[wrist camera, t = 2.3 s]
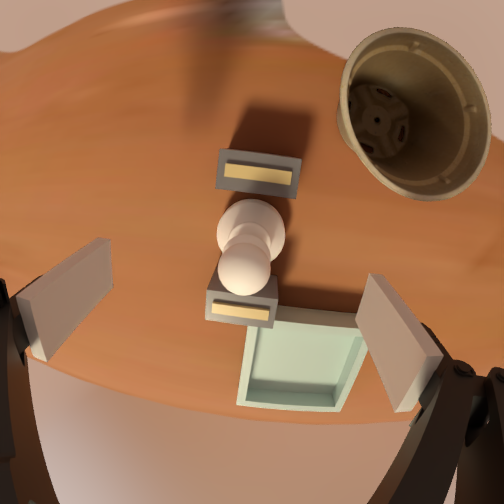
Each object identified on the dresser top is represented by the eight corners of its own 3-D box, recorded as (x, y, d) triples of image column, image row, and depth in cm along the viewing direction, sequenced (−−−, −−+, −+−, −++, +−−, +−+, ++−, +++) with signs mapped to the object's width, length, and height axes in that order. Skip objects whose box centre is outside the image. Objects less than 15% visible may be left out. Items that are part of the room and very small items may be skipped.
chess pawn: (273, 189, 22) (277, 217, 14) (291, 250, 24) (303, 309, 15) (210, 208, 23) (177, 247, 14) (231, 267, 24) (212, 331, 16)
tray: (367, 314, 25) (375, 329, 23) (336, 395, 29) (339, 411, 27) (251, 301, 25) (249, 317, 23) (238, 387, 29) (236, 404, 27)
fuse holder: (295, 157, 21) (302, 159, 17) (272, 302, 25) (272, 331, 21) (228, 148, 21) (219, 148, 17) (213, 294, 25) (204, 321, 21)
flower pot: (319, 183, 22) (348, 205, 14) (306, 62, 19) (328, 18, 10) (427, 180, 21) (492, 201, 13) (418, 69, 18) (479, 45, 10)
